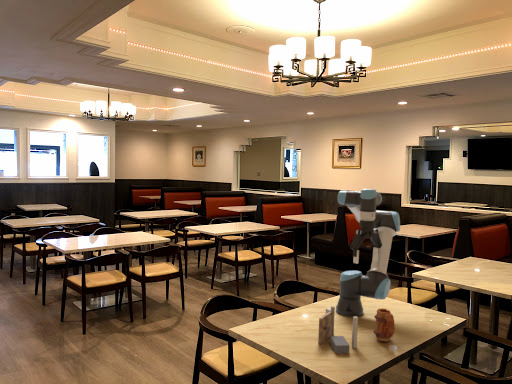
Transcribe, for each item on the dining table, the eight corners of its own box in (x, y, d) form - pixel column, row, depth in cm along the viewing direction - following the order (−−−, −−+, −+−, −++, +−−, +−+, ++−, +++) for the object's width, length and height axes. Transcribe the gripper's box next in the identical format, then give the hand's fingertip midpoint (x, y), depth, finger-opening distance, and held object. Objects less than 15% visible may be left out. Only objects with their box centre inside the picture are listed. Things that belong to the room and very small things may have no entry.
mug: (370, 335, 202) (372, 305, 201) (387, 335, 203) (388, 305, 202) (382, 349, 188) (383, 316, 187) (399, 348, 188) (401, 316, 187)
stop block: (330, 344, 192) (330, 336, 191) (342, 344, 192) (343, 336, 192) (335, 354, 182) (336, 345, 181) (349, 354, 182) (349, 345, 182)
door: (329, 335, 201) (330, 311, 200) (334, 336, 199) (335, 312, 198) (318, 343, 191) (319, 318, 190) (323, 345, 189) (324, 319, 189)
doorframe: (324, 332, 205) (325, 304, 204) (327, 331, 206) (328, 304, 205) (353, 348, 188) (355, 317, 187) (356, 347, 189) (358, 317, 188)
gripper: (354, 222, 197) (352, 266, 198) (390, 219, 210) (388, 260, 211) (343, 220, 203) (341, 262, 204) (379, 217, 216) (377, 257, 217)
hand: (365, 261), depth 208 cm, fingers open, 13 cm apart
